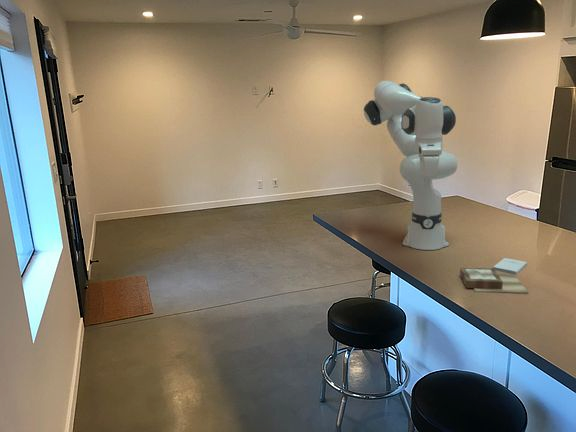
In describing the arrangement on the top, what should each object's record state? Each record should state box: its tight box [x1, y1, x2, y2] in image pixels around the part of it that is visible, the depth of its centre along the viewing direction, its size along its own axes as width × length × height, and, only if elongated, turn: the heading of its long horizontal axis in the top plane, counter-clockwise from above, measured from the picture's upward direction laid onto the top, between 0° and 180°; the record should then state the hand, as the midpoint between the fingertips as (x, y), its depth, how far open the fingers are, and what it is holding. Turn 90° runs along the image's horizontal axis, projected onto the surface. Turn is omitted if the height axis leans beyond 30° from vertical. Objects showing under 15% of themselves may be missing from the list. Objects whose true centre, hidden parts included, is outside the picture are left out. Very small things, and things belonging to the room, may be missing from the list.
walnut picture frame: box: [459, 267, 503, 289], centre depth 158 cm, size 12×3×11 cm
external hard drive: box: [491, 257, 528, 276], centre depth 171 cm, size 2×8×12 cm
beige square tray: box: [472, 273, 529, 295], centre depth 157 cm, size 16×16×1 cm
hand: (427, 187), depth 161 cm, fingers closed
